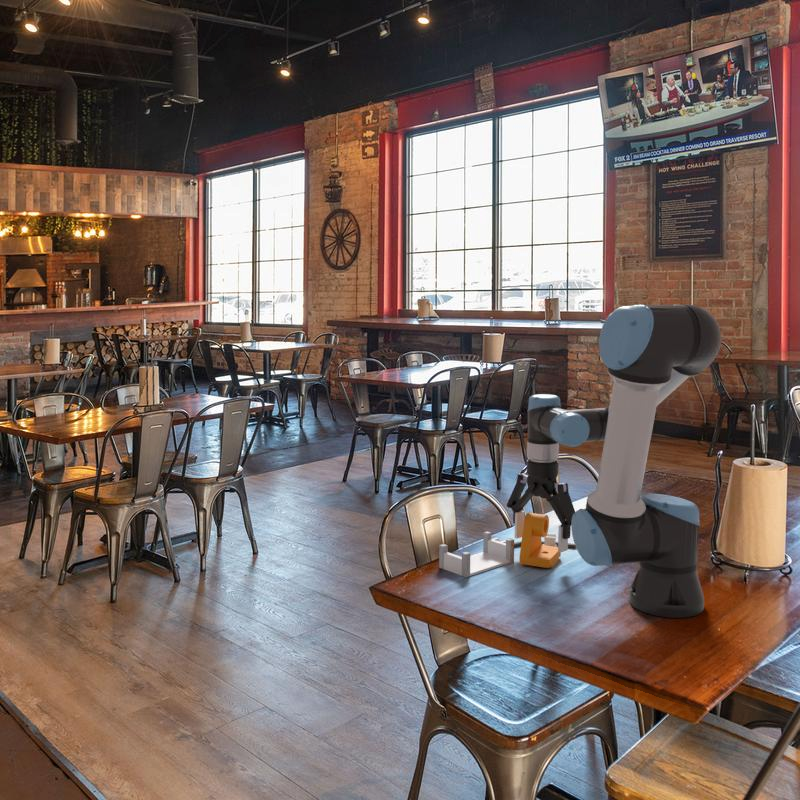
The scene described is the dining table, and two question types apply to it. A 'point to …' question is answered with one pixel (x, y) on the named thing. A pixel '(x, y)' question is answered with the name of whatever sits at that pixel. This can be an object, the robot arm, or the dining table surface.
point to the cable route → (548, 541)
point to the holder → (478, 557)
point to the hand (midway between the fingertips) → (540, 544)
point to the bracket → (537, 542)
